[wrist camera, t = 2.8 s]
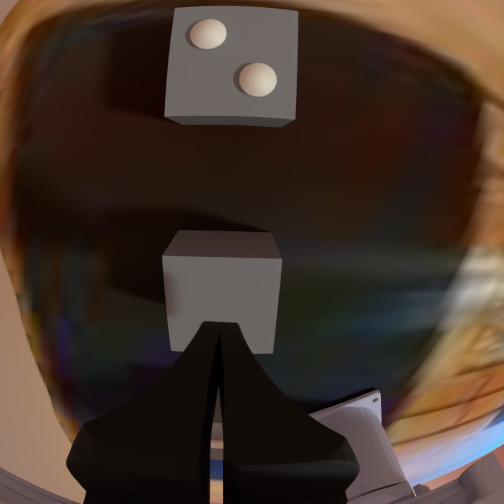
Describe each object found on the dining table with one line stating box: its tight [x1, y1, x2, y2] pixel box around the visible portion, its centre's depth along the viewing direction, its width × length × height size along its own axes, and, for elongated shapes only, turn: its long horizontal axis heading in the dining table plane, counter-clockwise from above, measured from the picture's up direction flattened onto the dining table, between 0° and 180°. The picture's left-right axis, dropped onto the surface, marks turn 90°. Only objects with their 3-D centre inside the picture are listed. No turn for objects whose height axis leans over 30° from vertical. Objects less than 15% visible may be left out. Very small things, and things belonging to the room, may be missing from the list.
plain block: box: [162, 230, 282, 354], centre depth 15 cm, size 5×5×4 cm
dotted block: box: [165, 6, 298, 127], centre depth 11 cm, size 5×5×4 cm
